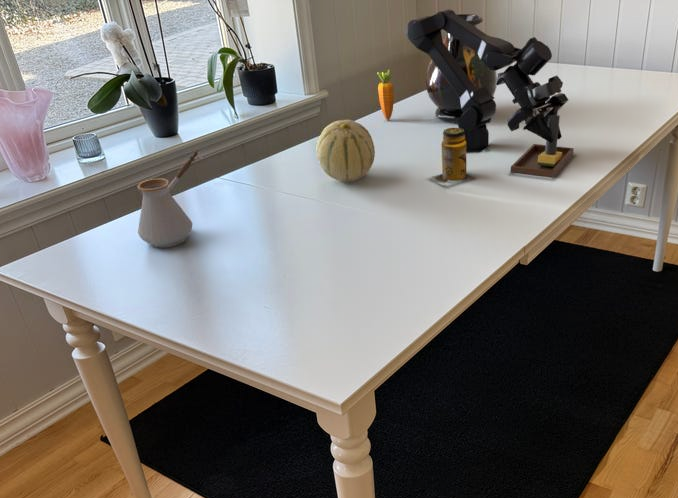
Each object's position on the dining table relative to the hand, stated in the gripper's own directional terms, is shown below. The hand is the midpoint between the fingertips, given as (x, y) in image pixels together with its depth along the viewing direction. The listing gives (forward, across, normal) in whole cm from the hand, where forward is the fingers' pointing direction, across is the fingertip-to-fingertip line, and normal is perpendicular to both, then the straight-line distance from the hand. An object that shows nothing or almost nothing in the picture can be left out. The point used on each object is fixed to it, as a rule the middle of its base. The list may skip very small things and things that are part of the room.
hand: (556, 139), depth 173 cm
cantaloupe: (-21, -38, +31) cm, 53 cm away
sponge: (+3, -1, +5) cm, 6 cm away
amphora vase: (-29, +19, +39) cm, 52 cm away
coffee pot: (-25, -82, +35) cm, 93 cm away
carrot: (-41, +2, +50) cm, 65 cm away
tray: (+3, -1, +7) cm, 8 cm away
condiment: (-6, -22, +16) cm, 28 cm away
